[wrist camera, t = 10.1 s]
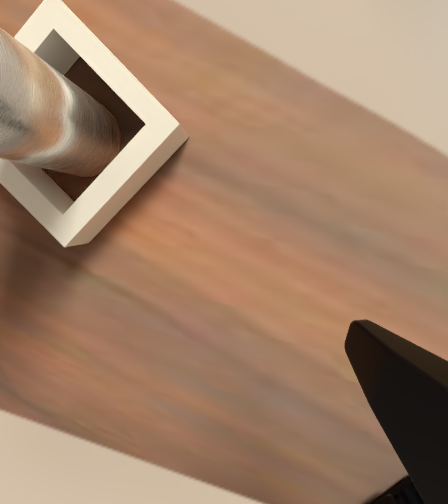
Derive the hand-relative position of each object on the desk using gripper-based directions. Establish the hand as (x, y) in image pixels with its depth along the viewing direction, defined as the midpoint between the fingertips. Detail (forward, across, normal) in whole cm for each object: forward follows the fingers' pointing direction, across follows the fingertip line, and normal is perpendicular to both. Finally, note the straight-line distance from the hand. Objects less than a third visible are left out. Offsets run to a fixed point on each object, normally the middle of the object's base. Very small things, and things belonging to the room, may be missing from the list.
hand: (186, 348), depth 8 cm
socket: (+14, +5, -3) cm, 16 cm away
